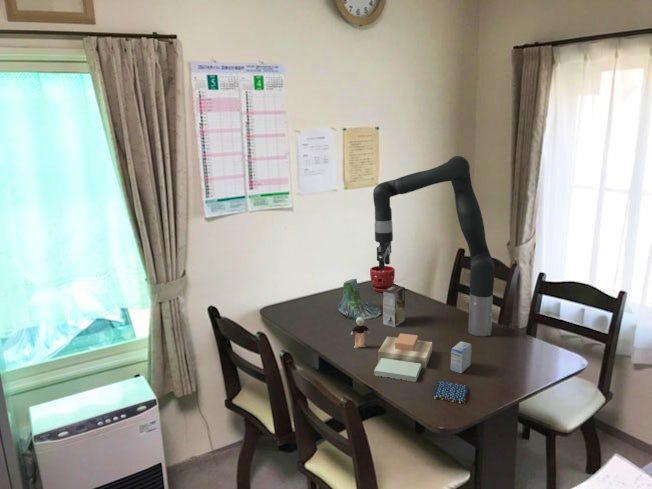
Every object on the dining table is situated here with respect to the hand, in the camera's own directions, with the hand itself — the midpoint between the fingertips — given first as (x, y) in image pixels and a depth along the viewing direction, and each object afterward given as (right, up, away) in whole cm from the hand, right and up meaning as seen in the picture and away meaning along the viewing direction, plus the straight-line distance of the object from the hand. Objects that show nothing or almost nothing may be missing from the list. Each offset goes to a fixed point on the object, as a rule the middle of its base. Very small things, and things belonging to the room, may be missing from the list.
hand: (384, 266), depth 214 cm
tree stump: (-10, -23, +22) cm, 34 cm away
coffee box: (+5, -26, +9) cm, 28 cm away
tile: (+6, -29, -23) cm, 37 cm away
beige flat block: (+5, -33, -23) cm, 41 cm away
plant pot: (+5, -15, +53) cm, 56 cm away
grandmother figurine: (-11, -32, -14) cm, 36 cm away
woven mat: (+16, -41, -50) cm, 66 cm away
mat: (+1, -37, -35) cm, 51 cm away
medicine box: (+24, -36, -33) cm, 54 cm away
